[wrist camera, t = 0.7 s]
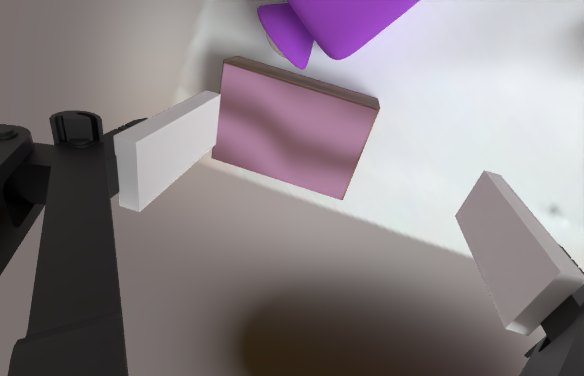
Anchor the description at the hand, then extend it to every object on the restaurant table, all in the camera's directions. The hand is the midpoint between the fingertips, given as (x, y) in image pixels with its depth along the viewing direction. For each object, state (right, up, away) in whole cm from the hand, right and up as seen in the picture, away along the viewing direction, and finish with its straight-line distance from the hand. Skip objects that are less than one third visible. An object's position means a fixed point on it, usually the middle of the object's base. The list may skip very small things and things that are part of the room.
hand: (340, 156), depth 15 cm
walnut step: (-2, +6, +21) cm, 22 cm away
